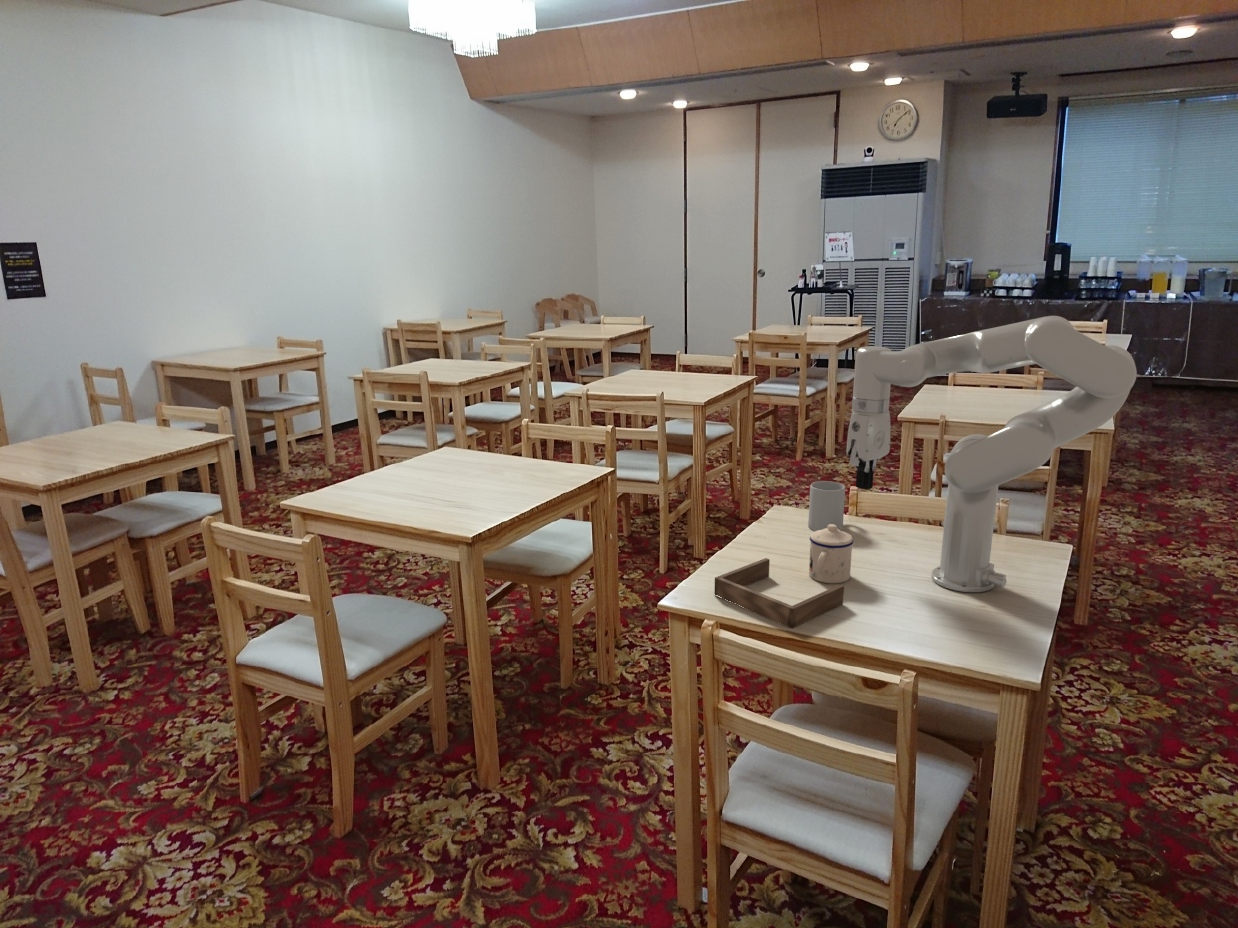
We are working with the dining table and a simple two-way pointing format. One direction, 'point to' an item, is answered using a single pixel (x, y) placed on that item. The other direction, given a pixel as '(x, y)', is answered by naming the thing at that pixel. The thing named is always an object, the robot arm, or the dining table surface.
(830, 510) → the mug
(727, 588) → the box
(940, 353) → the robot arm
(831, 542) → the teacup with lid
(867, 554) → the dining table surface
